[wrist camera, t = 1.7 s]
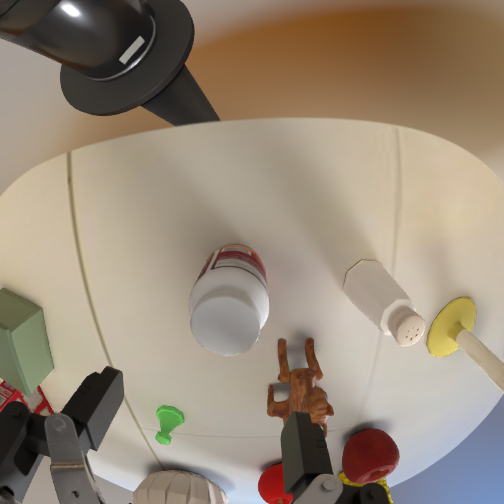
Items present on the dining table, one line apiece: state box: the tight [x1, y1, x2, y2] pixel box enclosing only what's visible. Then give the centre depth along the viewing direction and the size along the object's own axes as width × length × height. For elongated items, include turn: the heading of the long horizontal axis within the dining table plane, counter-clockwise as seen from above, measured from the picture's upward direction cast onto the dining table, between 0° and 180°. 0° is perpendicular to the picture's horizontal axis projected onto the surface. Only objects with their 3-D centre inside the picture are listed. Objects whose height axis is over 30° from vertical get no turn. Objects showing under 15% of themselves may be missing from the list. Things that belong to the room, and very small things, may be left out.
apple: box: [342, 429, 400, 484], centre depth 31 cm, size 10×10×10 cm
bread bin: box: [0, 288, 54, 394], centre depth 28 cm, size 12×11×8 cm
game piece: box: [155, 406, 184, 444], centre depth 31 cm, size 4×4×6 cm
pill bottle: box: [189, 245, 269, 356], centre depth 23 cm, size 6×6×11 cm
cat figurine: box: [267, 338, 334, 437], centre depth 25 cm, size 18×7×14 cm, turn 1°
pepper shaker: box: [343, 260, 425, 347], centre depth 23 cm, size 5×5×11 cm
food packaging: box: [0, 380, 54, 416], centre depth 24 cm, size 15×5×25 cm, turn 179°
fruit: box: [258, 463, 293, 504], centre depth 33 cm, size 9×9×10 cm
